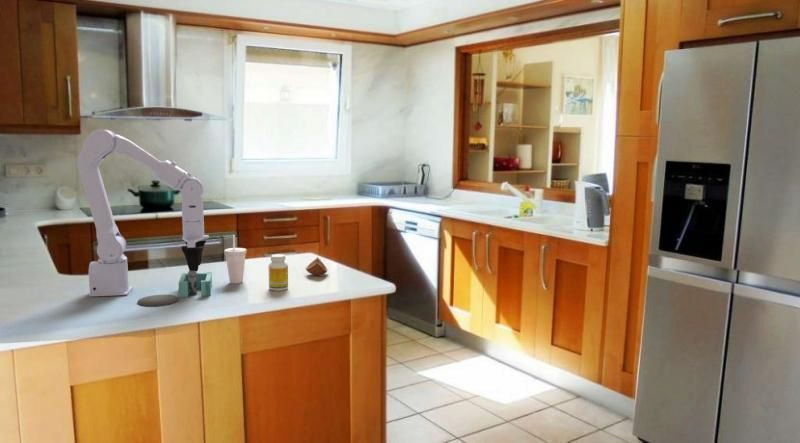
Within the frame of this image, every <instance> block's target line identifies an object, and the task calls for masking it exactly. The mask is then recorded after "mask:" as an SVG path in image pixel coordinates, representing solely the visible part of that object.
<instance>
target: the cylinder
mask: <svg viewBox="0 0 800 443" xmlns="http://www.w3.org/2000/svg"><path fill="white" fill-rule="evenodd" d="M187 273H188V278H189V288H188V296H189V295H191V296H194V295H195V296H196V295H197V293H198V292H197V285H196V276H197V273H198V271H195V270H190V271H189V270H188V271H187Z"/></svg>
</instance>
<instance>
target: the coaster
mask: <svg viewBox="0 0 800 443" xmlns="http://www.w3.org/2000/svg"><path fill="white" fill-rule="evenodd" d="M179 298H180V297H179V296H176V295H173V294H154V295H149V296H145V297H141V298H139V299H138V300H137V305H139V306H141V307H163V306H168V305H172V304H175V303H177V302H179V300H180V299H179Z"/></svg>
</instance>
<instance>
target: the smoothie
mask: <svg viewBox="0 0 800 443" xmlns="http://www.w3.org/2000/svg"><path fill="white" fill-rule="evenodd" d="M223 251H224V255H225V260H226V268H227V272H228V279H229V280H228V281H229V283H230V284H234V283H235V284H241V282H242V283H243V282H244V272H245V263H246V255H247V248H244V247H236V235H235V234H232V247H230V248H226V249H224V250H223Z"/></svg>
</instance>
